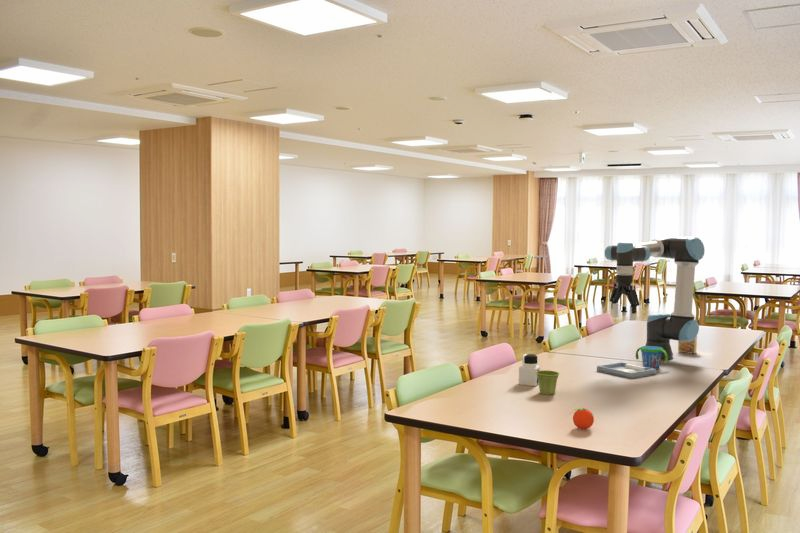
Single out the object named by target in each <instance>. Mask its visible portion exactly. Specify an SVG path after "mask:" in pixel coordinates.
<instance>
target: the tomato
mask: <svg viewBox="0 0 800 533" xmlns="http://www.w3.org/2000/svg"><path fill="white" fill-rule="evenodd" d="M574 411H575V412H574ZM572 412H574V414H573V416H572V420H573V424H574V426H576V427H577V428H578V429H579V430H588V429H589V428H591V427H592V426H593V424H594V423H595V419H594V415H593V413H592V412H591V411H590V410H589V409H587V408H576V409H574V410H572ZM572 412H570V414H569V415H571V414H572Z"/></svg>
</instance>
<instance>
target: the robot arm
mask: <svg viewBox="0 0 800 533" xmlns="http://www.w3.org/2000/svg"><path fill="white" fill-rule="evenodd" d="M605 247H606V248H605V249H604V257H605V259H606V260H608V261H616V280H615V281H616V283H614V284H613V288H612V291H611V295H610V298H609V302H610V303H612V308H611V309H612V317H613V318H614V317H615V318H617V317H619V301H620V299H621V297H622V295H624V296H626V297H627V300H628V302H629V305H630V306H629V321H636V317H637V316H636V314H637V307H638V306H640V300H639V297H638V294H637V291H636V285H631V284H633V281H634V279H633V278H634V276H633V274H634V262H636V263H637V262H638V263H640V262H642V263H643V262H646V261H648V260H650V258H651V257H653V258H657V259H658V258H665V259H673V260H674V261H673V262H674V264H676V275H675V277H676V278H675V279H676V280H675V291H674V293H675V294H674V304H673V305H674V306H673V311H672V312H671V313H658V314H657V313H656V314H649V315H648V316H647V317H646V342H645V345H644V346H657V347H662V348H663V350H665V351H666V353H667V356H668V360H671V359H673V358H674V352H673V350H672V346H671V342H670V340H672V341H673V340H674V341H677V342H678V341H682V342H684V341H685V342H690V341H692V340H694V339H695V337H696V336H697V337H698V334H699V331H700V326H699V325H700V324H699V322H698V321H697V320H695V315H694V314H693V312H692V311H693V300H694V288H695V286H694V285H695V271H696V266H698V265H699V261H700V260H702V259H703V258H704V256H705V246H704V243H703V242H702V240H701V239H700V238H699V237H696V236H695V237H694V236H668V237H663V238H657V239H653V240H651V241H647V242H639V243H638V242H636V243H633V242H625V241H624V242H618V243H617V245H614V244H613V245H608V246H605ZM665 358H666V357H665V354H664V352H662V356H661V360H665Z"/></svg>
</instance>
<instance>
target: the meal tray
mask: <svg viewBox="0 0 800 533" xmlns="http://www.w3.org/2000/svg"><path fill="white" fill-rule="evenodd" d="M596 372H599V373H605V374H607V375H608V374H609V375H614V376H617V377H622V378H626V379H630V380H632V379H636V378H637V377H638V378H641V377H642V378H643V376H644V377H649V376H654V374H655V375H657V369H653V368H648V367H644V366H643V365H638V364H635V363H634V364H633V363H628V362H623V361H620V362H613V363H607V364H601V365H596ZM648 375H649V376H648Z"/></svg>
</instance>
